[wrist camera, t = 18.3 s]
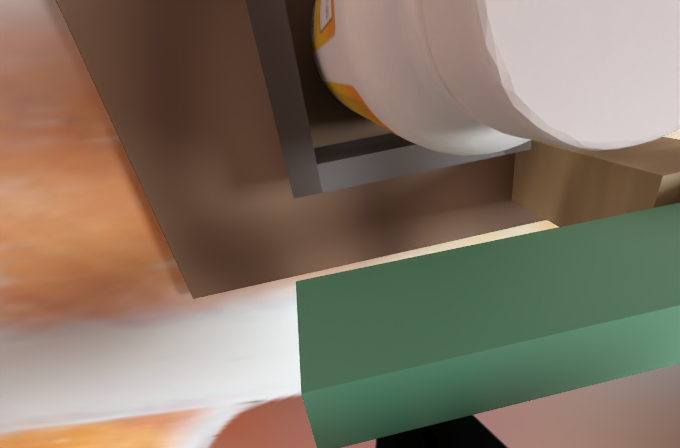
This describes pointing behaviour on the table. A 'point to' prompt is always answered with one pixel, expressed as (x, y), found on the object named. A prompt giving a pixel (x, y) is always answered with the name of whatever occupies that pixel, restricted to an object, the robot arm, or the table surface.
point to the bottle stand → (311, 150)
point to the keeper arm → (488, 325)
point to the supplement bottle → (504, 70)
